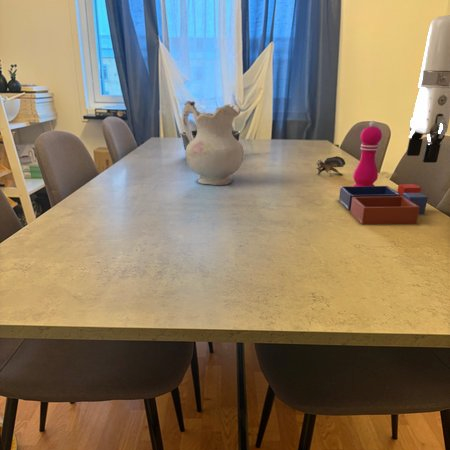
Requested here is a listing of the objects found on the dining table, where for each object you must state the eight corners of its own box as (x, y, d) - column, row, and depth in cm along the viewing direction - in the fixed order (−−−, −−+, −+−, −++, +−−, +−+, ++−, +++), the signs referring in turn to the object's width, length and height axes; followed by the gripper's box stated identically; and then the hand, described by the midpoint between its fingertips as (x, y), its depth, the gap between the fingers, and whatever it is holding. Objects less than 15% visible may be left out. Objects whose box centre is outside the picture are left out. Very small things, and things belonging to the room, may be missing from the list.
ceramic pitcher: (172, 188, 143) (164, 106, 130) (192, 172, 158) (188, 97, 145) (234, 192, 137) (233, 107, 124) (250, 175, 153) (250, 98, 140)
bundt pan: (178, 152, 202) (177, 129, 198) (233, 150, 207) (233, 128, 202) (184, 162, 179) (183, 136, 175) (246, 159, 184) (246, 134, 179)
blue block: (417, 209, 114) (420, 192, 112) (424, 214, 110) (428, 197, 108) (400, 209, 114) (403, 192, 112) (406, 214, 110) (410, 197, 108)
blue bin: (384, 200, 123) (387, 185, 121) (398, 210, 114) (401, 194, 112) (338, 200, 123) (340, 186, 121) (348, 210, 114) (350, 195, 112)
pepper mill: (351, 192, 131) (360, 121, 122) (351, 187, 137) (359, 119, 128) (376, 193, 129) (387, 122, 120) (374, 188, 136) (385, 119, 126)
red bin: (400, 212, 112) (403, 196, 110) (416, 223, 103) (420, 207, 101) (350, 212, 112) (352, 196, 110) (361, 224, 103) (364, 207, 101)
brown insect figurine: (323, 174, 149) (348, 168, 149) (317, 155, 150) (342, 149, 150) (317, 182, 157) (341, 177, 157) (312, 164, 157) (336, 158, 158)
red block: (411, 199, 123) (414, 184, 121) (417, 204, 119) (421, 187, 117) (395, 200, 123) (398, 184, 121) (401, 204, 119) (404, 187, 117)
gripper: (473, 81, 90) (452, 165, 98) (436, 80, 106) (421, 153, 114) (437, 80, 90) (420, 165, 98) (406, 80, 106) (392, 153, 114)
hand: (420, 158), depth 106 cm, fingers open, 9 cm apart
